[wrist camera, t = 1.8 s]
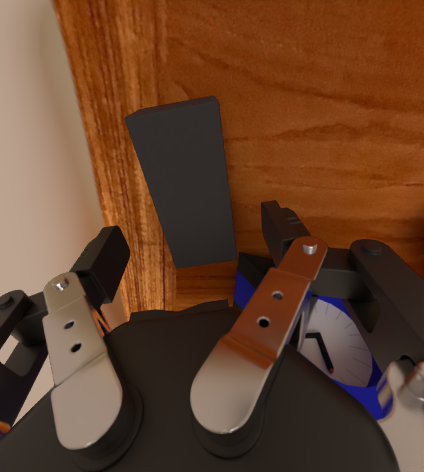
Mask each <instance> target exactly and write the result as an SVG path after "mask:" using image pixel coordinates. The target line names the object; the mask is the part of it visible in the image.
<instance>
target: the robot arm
mask: <svg viewBox="0 0 424 472" xmlns="http://www.w3.org/2000/svg"><path fill="white" fill-rule="evenodd" d="M261 216H262V232H263V236H264V239H265V242H266V244H267V246H268V249H269V251H270V254H271V256H272V259H273V261H274V264H275V266H276V268H275V267H271V268H270V269H269V270H268V272H267V274H266V275H265V277H264V278H263V280H262V281H261V283H260V285H259V286H258V288H257V289H256V291H255V292H254V294H253V296H252V297H251V299H250V300H249V302H248V303H247V305H246V307H245V308H244V310H242V309H239V308H235V307H229V304H228V299H226V300H219V301H212V302H205V303H201V304H198V305H196V306H193V307H190V308H187V309H185V310H182V311H166V310H156V309H154V310H147V311H140V312H133V313H131V316H130V320H129V321H128V322H125V323H123V324H121V325H120V326H118V327H116V328H115V329H113V330H112V329H111V327H110V325H109V323H108V321H107V319H106V317H105V315H104V313H103V312H102V310H101V309H100V307H101V305H102V304H107V303H112V301H113V299H114V296H115V294H116V291H117V289H118V286H119V284H120V281H121V279H122V276H123V274H124V271H125V269H126V266H127V263H128V261H129V258H130V249H129V246H128V244H127V242H126V240H125V238H124V235H123V233H122V231H121V229H120V227H119V226H117V225H116V226H110V227H104V228H102V230H101V231H100V233H99V234H98V236H97V237H96V238H95V239H93V240H92V241H91V242H90V243H89V244H88V245H87V246H86V248H85V249H84V251H83V252H82V254H81V256H80V257H79V258H78V260H77V261H76V262H75V264H74V265H73V267H72V268H71V270H70V271H69V272H67V273H63V274H60V275H58V276H57V277H55V278H53V279H52V280H51V281H49V282H48V284H47V285H46V286H45V287H44V290H43V292H40V293H37V294H35V295H32V296H29V297H28V296H27V295H26V294H25V293H24V292H23V291H22V290H15V291H11V292H8V293H6V294H4V295H2V296H1V297H0V349H1V347H2V346H3V344H4V343H5V342H6V340H7V339H8V337H9V336H10V335H12V336H13V337H14V338H15V339H17V340H18V341H19V343H18V344H17V346H16V347H15V349H14V350H13V352H12V354H11V355H10V357H9V359H8V360H7V361H6V363H5V365H4V364H2V363H1V362H0V472H424V280H423V279H422V278H421V277H420V276H419V275H418V274H417V273H416V272H415V271H413V270H412V269H411V268H410V267H409V266H408V265H407V264H406V263H405V262H404V261H403V260H402V259H401V258H400V257H399V256H398V255H397V254H396V253H395V252H394V251H393V250H392V249H391V248H390V247H389V246H388V245H386V244H384V243H382V242H379V241H376V240H371V239H361V240H357V241H354V242H353V243H352V244H351V247H350V249H339V248H330V247H328V246H327V244H326V243H325V242H324V241H323V240H321V239H319V238H316V237H312V236H311V235H310V233H309V232H308V230H307V229H306V228H305V226H304V225H303V223H301V221H300V219H299V218H298V216H297V215H296V214H295V212H294V211H292V210H290V209H289V208H280V206H279V204H278V203H277V201H276V200H274V201H267V202H262V203H261ZM319 296H326V297H334V298H340V299H341V300H342V302H343V304H344V306H345V307H346V309H347V311H348V313H349V315H350V316H351V318H352V320H353V322H354V324H355V325H356V327H357V329H358V331H359V333H360V334H361V336H362V338H363V340H364V342H365V343H366V345H367V347H368V349H369V351H370V352H371V354H372V356H373V358H374V359H375V361H376V363H377V365H378V367H379V368H380V370H381V372H382V374H383V376H382V377H381V379H380V381H379V382H378V385H377V388H376V393H377V398H378V401H379V404H380V406H381V411H382V419H380V420H376V419H375V418H374V417H373V415H372V414H371V413H370V412H369V411H368V410H367V409H366V408H365V407H364V406H363V405H362V404H361V403H360V402H359V401H358V400H357V399H356V398H354V397H353V396H352V395H351V394H350V393H348V392H347V391H346V390H345V389H344V388H342V387H341V386H340V385H339V384H338V383H336V382H335V381H334V380H333V379H331V378H330V377H329V376H328V375H327V374H325V373H324V372H323V371H322V370H321V369H319V368H318V367H317V366H316V365H315V364H313V363H312V362H311V361H310V360H308V359H307V358H306V357H305V356H304V355H302V354H301V353H300V351H301V348H302V346H303V342H304V339H305V335H306V331H307V328H308V325H309V322H310V320H311V317H312V314H313V312H314V309H315V306H316V304H317V301H318V298H319ZM48 354H49V359H50V364H51V370H52V375H53V380H54V387H53V388H52V389H51V390H50V391H49V392H47V393H46V395H44V396H43V397H42V398H41V399H40V400H39V401H38V402H37V403H36V404H35V405H34V406H33V407H32V408H31V409H30V410H29V411H28V412H27V413H26V414H25V415H24V416H23V417H22V418H21V419H20V420H19V421H18V422H17V423H16V424H15V425H14V426H13V424H14V422H15V420H16V418H17V416H18V414H19V412H20V410H21V408H22V406H23V404H24V402H25V400H26V398H27V396H28V394H29V392H30V390H31V388H32V386H33V384H34V382H35V380H36V378H37V376H38V374H39V372H40V370H41V368H42V365H43V364H44V362H45V360H46V358H47V355H48ZM12 426H13V427H12Z"/></svg>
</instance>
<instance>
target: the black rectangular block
mask: <svg viewBox="0 0 424 472" xmlns="http://www.w3.org/2000/svg"><path fill="white" fill-rule="evenodd" d="M125 121H126V124H127V127H128V130H129V133H130V136H131V139H132V142H133V145H134V148H135V150H136V153H137V156H138V159H139V162H140V165H141V168H142V171H143V174H144V177H145V180H146V182H147V185H148V188H149V191H150V194H151V197H152V200H153V203H154V206H155V209H156V212H157V214H158V217H159V220H160V223H161V226H162V229H163V232H164V235H165V238H166V241H167V244H168V246H169V249H170V252H171V255H172V258H173V261H174V264H175V267H176V268H177V269H178V268H184V267H191V266H198V265H205V264H211V263H218V262H225V261H232V260H237V259H238V258H237V249H236V241H235V233H234V225H233V216H232V208H231V200H230V192H229V183H228V175H227V167H226V159H225V150H224V142H223V134H222V125H221V117H220V109H219V102H218V100H217V99H216V97H215V96H209V97H203V98H198V99H193V100H188V101H182V102H177V103H172V104H166V105H161V106H156V107H150V108H145V109H140V110H138V111H136V112H134V113H132V114H131V115H129V116H127V117H125Z"/></svg>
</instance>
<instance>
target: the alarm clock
mask: <svg viewBox="0 0 424 472" xmlns="http://www.w3.org/2000/svg"><path fill="white" fill-rule="evenodd" d="M271 267H275V268H276V266H275V264H274V261H273V260H268V259H264V258H260V257H256V256H252V255H248V254H244V253H240V252H239V258H238V267H237V276H236V285H235V294H234V303H233V307H235V308H239V309H242V310H244V308H245V307H246V305H247V303H248V302H249V300H250V299H251V297H252V296H253V294H254V292H255V291H256V289H257V288H258V286H259V285H260V283H261V281H262V280H263V278H264V277H265V275H266V274H267V272H268V270H269V269H270V268H271ZM300 353H301V354H302V355H304V356H305V357H306V358H307V359H308V360H310V361H311V362H312V363H313V364H315V365H316V366H317V367H318V368H319V369H321V370H322V371H323V372H324V373H325V374H327V375H328V376H329V377H330V378H331V379H333V380H334V381H335V382H336V383H338V384H339V385H340V386H341V387H342V388H344V389H345V390H346V391H347V392H348V393H350V394H351V395H352V396H353V397H354V398H356V399H357V400H358V401H359V402H360V403H361V404H362V405H363V406H364V407H365V408H366V409H367V410H368V411H369V412H370V413H371V414H372V415H373V417H374V418H375V419H376V420H380V419H382V411H381V406H380V404H379V401H378V398H377V393H376V388H377V385H378V382H379V381H380V379H381V377H382V376H383V374H382V372H381V370H380V368H379V367H378V365H377V363H376V361H375V359H374V358H373V356H372V354H371V352H370V351H369V349H368V347H367V345H366V343H365V342H364V340H363V338H362V336H361V334H360V333H359V331H358V329H357V327H356V325H355V324H354V322H353V320H352V318H351V316H350V315H349V313H348V311H347V309H346V307H345V306H344V304H343V302H342V300H341V299H340V298H334V297H326V296H319V298H318V301H317V304H316V306H315V309H314V312H313V314H312V317H311V320H310V322H309V325H308V328H307V331H306V335H305V339H304V342H303V346H302V348H301V351H300Z"/></svg>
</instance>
